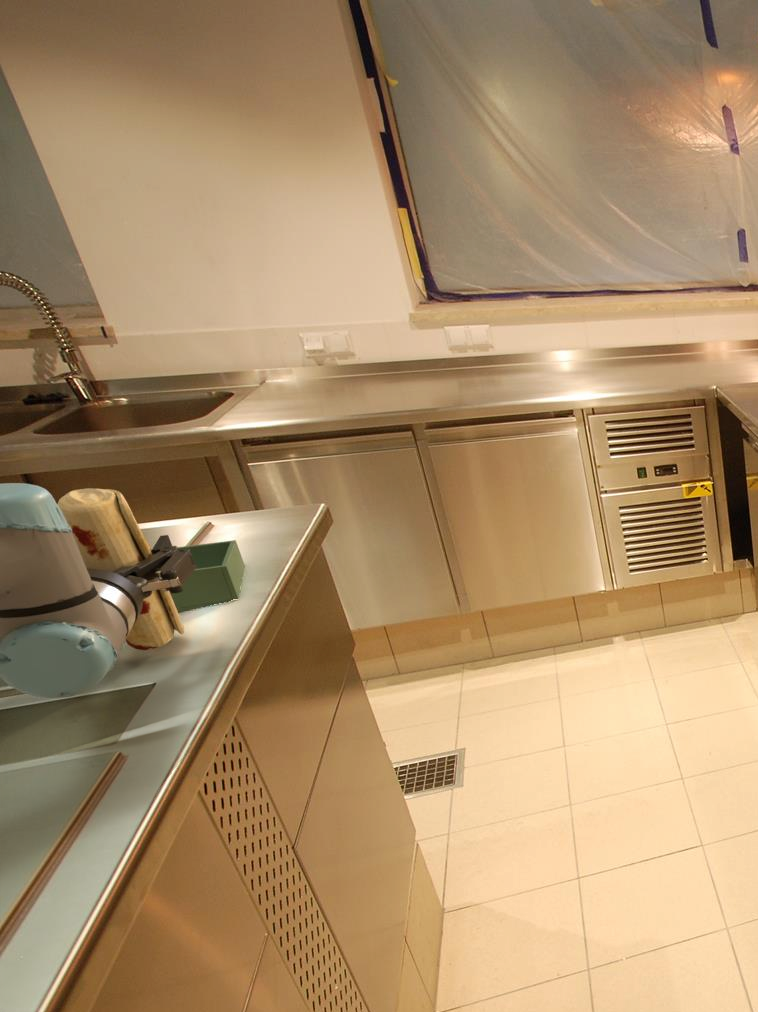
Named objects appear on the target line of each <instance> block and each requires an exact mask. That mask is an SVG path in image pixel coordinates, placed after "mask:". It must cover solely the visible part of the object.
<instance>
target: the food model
mask: <svg viewBox="0 0 758 1012" xmlns="http://www.w3.org/2000/svg"><path fill="white" fill-rule="evenodd" d="M57 505H58V506H59V507H60V509H61V511H62V513H63V515H64V517H65V519H66V521H67V523H68V525H69V526H70V527H71V529H72V533H73V536H74V538H75V541H76V543H77V546H78V548H79V551H80V553H81V556H82V558H83V561H84V564H85V566H86V569H101V570H106V571H110V572H113V571H115V570H117V569H119V568H121V567H122V566H134V565H135V564H137V563H139V562H141V561H143V560H145V559H146V558H148V557H150V556H152V555H153V553H152V548H151V547H150V545H149V543H148V542H147V539H146V537H145V535H144V534H143V532H142V529H141V528H140V526H139V524H138V522H137V520H136V517H135V516H134V514H133V511H132V509H131V507H130V506H129V503H128V502H127V500H126V498H125V497H124V495H123V494H122V493H121V491H119V490H116V489H111V488H105V489H104V488H92V487H87V488H80V489H73V490H71V491H69V492H67V493H65V495H63V496H62V497H60V498H59V500H58V502H57ZM175 631H176V632H177V633H178V634H179V635H183V634H184V633H185V626H184V624H183V620H182V619H181V617H180V614H179V612H178V611H177V609H176V607H175V604H174V602H173V599H172V597H171V594H170V592H169V591H166V592H164V591H163V590H162V589H159V590H154V591H152V594H151V595H150V596H149V597H147V598H145V599H143V606H142V610H141V613H140V615H139V617H138V618H137V620H136V622H135V624H134V625H133V627H132V629H131V631H130V633H129V634H128V636H127V638H126V640H125V642H126V644H127V645H128V646H129V647H130V648H133V649H134V650H137V651H148V650H150V649H156V648H160V647H162V646H165V645H166V644H167V643H169V642H170V641H171V640H172V639H173V638H174V635H175Z"/></svg>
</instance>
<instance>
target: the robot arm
mask: <svg viewBox="0 0 758 1012" xmlns="http://www.w3.org/2000/svg"><path fill="white" fill-rule="evenodd" d="M57 504H58V502H56V499H55V498H54V496H53V495H52V494H51V492H49V490H47V489H46V488H44V487H42V486H40V485H36V484H31V483H25V482H23V483H22V482H5V483H0V679H1V680H2V681H3V682H5V684H7V685H8V686H10V687H11V688H12V689H14V690H16V691H18V692H19V693H23V694H25V695H28V696H32V697H37V698H43V699H44V698H45V699H60V698H69V697H73V696H77V695H80V694H83V693H86V692H87V691H90V690H91V689H93V688H95V687H96V686H97V685H98V684H100V682H102V680H103V679H104V678H105V677H106V675H107V674H110V672H111V671H112V670H113V669H114V666H116V663H117V660H118V656H119V655H120V652H121V650H122V648H123V646H124V644H125V642H126V641H125V640H126V638H127V636H128V634H129V633H130V631H131V629H132V627H133V625H134V624H135V622H136V620H137V618H138V617H139V615H140V613H141V610H142V606H143V599H145V598H147V597H149V596H150V595H151V594H152V591H154V590H159V589H162V590H163V591H164V592H166V591H169V592H170V593H179V592H182V591H183V588H182V584H183V583H184V582H185V581H186V580H187V578H188V577H189V576H190V575H191V574H192V572H193V571H194V570H195V569H196V565H195V562H194V560H193V557H192V555H191V552H190V550H189V549H180V550H178V548H177V547H178V546H177V545H173V544H172V541H171V538H170V537H169V534H165V535H163V534H162V535H160V536H159V537H158V539H157V541H156V542H155V543H154V546H153V547H152V548H151V550H152V553H153V555H152V556H150V557H148V558H146V559H145V560H143V561H141V562H139V563H137V564H135V565H134V566H122V567H121V568H119V569H117V570H115V571H113V572H110V571H106V570H101V569H86V566H85V564H84V561H83V558H82V556H81V553H80V551H79V548H78V546H77V543H76V541H75V538H74V536H73V533H72V529H71V527H70V526H69V525H68V523H67V521H66V519H65V517H64V515H63V513H62V511H61V509H60V507H59V506H58V505H57Z"/></svg>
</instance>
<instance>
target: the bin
mask: <svg viewBox="0 0 758 1012" xmlns="http://www.w3.org/2000/svg"><path fill="white" fill-rule="evenodd" d="M177 548H178V550H180V549H189V550H190V552H191V555H192V557H193V560H194V562H195V565H196V569H195V570H194V571H193V572H192V574H191V575H190V576H189V577H188V578H187V580H186V581H185V582H184V583H183V584H182V588H183V591H182V592H179V593H170V594H171V597H172V599H173V602H174V604H175V607H176V609H177V611H178V613H183V612H188V611H193V609H194V610H198V609H202V608H201V607H203V608H207V607H206V606H208V607H211V606H210V605H212V606H215V605H214V604H217V605H220V604H219V603H222V604H225V603H224V602H226V603H230V602H229V601H231V600H233V599H238V598H239V599H240V595H239V592H240V593H241V590H240V586H241V587H242V585H241V582H242V583H243V579H242V577H243V578H244V573H245V568H246V564H245V562H244V559H243V556H242V554H241V551H240V548H239V545H238V542H237V540H226V541H217V542H212V543H211V542H209V543H202V544H201V543H200V544H193V545H192V544H191V545H185V546H177ZM231 602H232V601H231ZM197 608H198V609H197Z"/></svg>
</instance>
